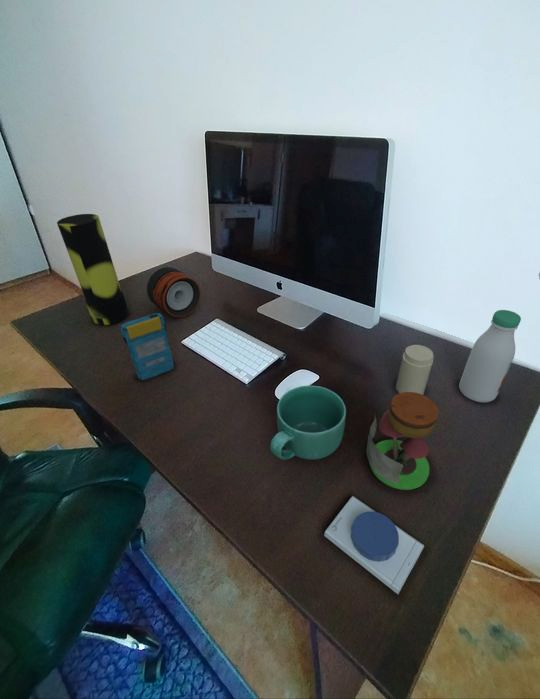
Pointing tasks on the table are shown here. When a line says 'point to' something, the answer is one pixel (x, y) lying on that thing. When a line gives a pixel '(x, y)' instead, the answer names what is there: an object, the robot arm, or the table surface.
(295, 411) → the mug
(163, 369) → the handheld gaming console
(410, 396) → the toy burger
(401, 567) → the hard drive
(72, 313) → the table surface
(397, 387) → the jar
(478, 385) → the milk bottle
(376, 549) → the jar lid
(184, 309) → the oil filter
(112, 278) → the container
